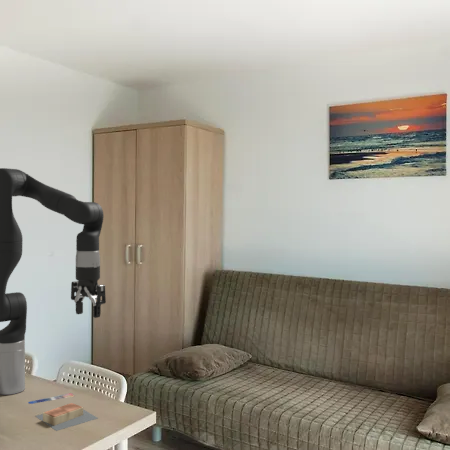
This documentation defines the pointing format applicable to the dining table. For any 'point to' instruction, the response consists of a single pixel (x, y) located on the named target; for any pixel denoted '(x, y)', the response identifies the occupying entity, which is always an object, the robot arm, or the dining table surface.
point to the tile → (62, 414)
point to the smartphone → (52, 398)
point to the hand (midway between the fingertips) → (87, 315)
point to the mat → (71, 421)
